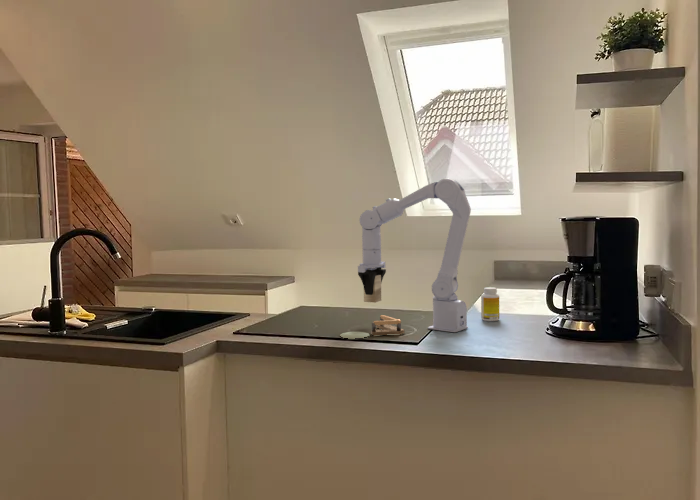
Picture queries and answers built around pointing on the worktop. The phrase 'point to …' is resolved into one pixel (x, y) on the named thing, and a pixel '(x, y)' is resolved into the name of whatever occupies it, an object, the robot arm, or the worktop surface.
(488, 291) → the supplement bottle
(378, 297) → the birch handle block
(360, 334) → the pad
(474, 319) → the worktop surface
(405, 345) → the worktop surface
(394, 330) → the copper rod course
